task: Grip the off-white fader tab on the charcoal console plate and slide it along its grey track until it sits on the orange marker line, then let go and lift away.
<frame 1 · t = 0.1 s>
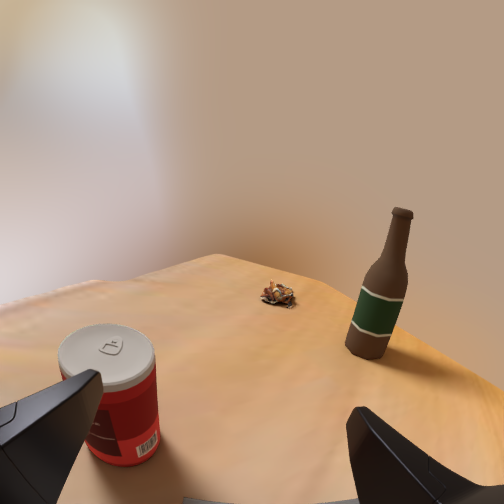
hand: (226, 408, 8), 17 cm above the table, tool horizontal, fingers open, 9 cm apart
canned food: (122, 438, 20), on the table
pastry: (276, 297, 63), on the table
beer bottle: (364, 349, 44), on the table
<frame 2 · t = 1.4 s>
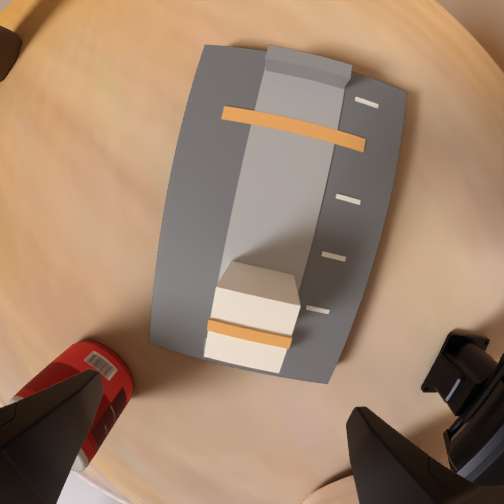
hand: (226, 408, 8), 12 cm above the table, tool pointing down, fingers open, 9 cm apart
canned food: (102, 369, 24), on the table
console plate: (273, 217, 19), on the table
white serving bowl: (361, 488, 26), on the table
fader tab: (252, 313, 16), point 5 cm above the table, slide at 0.0 cm
beer bottle: (5, 60, 17), on the table
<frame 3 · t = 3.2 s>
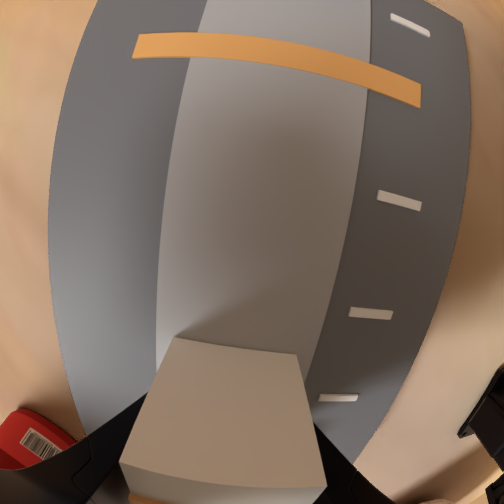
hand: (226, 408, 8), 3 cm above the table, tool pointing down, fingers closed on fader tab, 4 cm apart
canned food: (52, 439, 14), on the table
console plate: (250, 241, 10), on the table
fader tab: (222, 446, 7), point 5 cm above the table, slide at 0.0 cm, touching gripper
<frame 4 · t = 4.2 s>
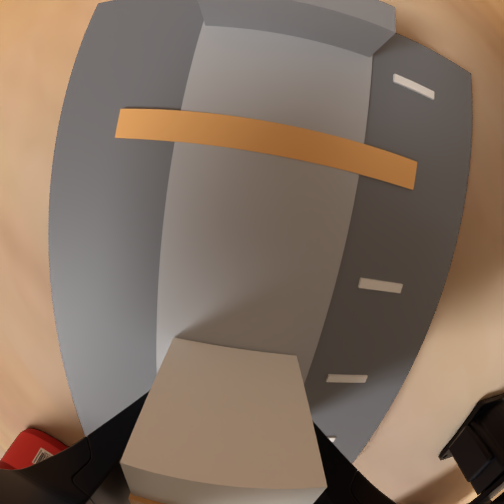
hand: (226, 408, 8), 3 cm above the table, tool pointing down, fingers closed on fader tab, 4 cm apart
canned food: (60, 455, 15), on the table
console plate: (239, 309, 11), on the table
fader tab: (222, 447, 7), point 5 cm above the table, slide at 2.7 cm, touching gripper
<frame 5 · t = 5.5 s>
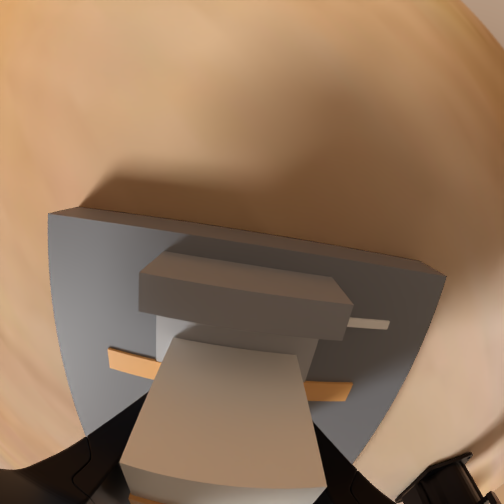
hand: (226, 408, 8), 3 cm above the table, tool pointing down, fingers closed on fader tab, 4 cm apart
console plate: (218, 437, 13), on the table
fader tab: (222, 447, 7), point 5 cm above the table, slide at 10.7 cm, touching gripper
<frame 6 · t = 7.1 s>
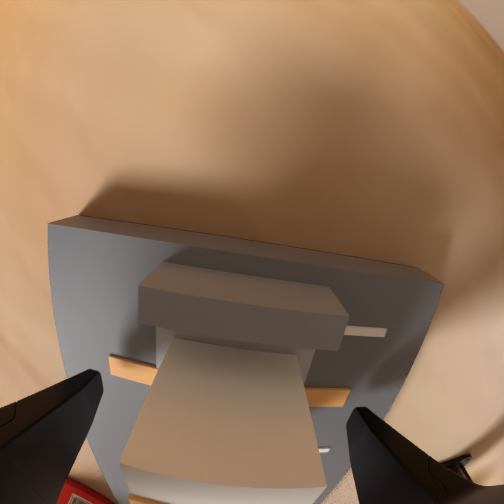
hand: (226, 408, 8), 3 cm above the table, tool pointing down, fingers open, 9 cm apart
canned food: (85, 493, 17), on the table
console plate: (218, 440, 13), on the table
fader tab: (222, 447, 7), point 5 cm above the table, slide at 11.0 cm
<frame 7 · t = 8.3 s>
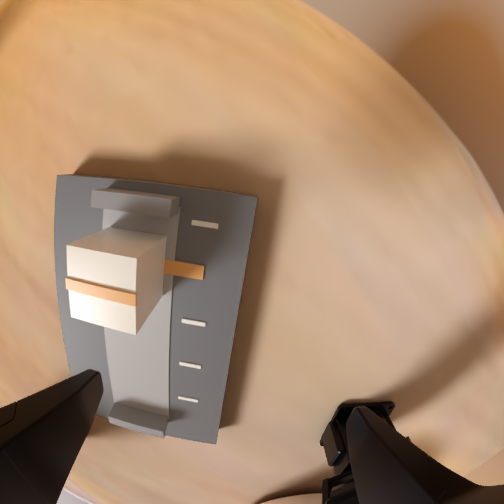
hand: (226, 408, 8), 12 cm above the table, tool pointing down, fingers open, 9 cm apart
console plate: (144, 325, 21), on the table
fader tab: (118, 274, 15), point 5 cm above the table, slide at 11.0 cm
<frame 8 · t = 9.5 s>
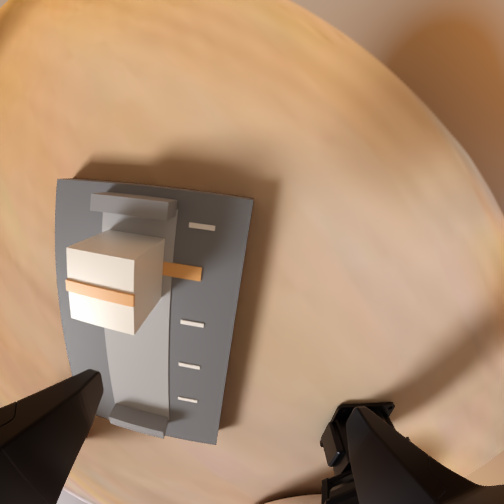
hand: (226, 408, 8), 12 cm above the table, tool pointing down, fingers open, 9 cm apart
console plate: (144, 327, 21), on the table
fader tab: (117, 276, 15), point 5 cm above the table, slide at 11.0 cm
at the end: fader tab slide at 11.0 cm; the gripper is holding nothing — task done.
